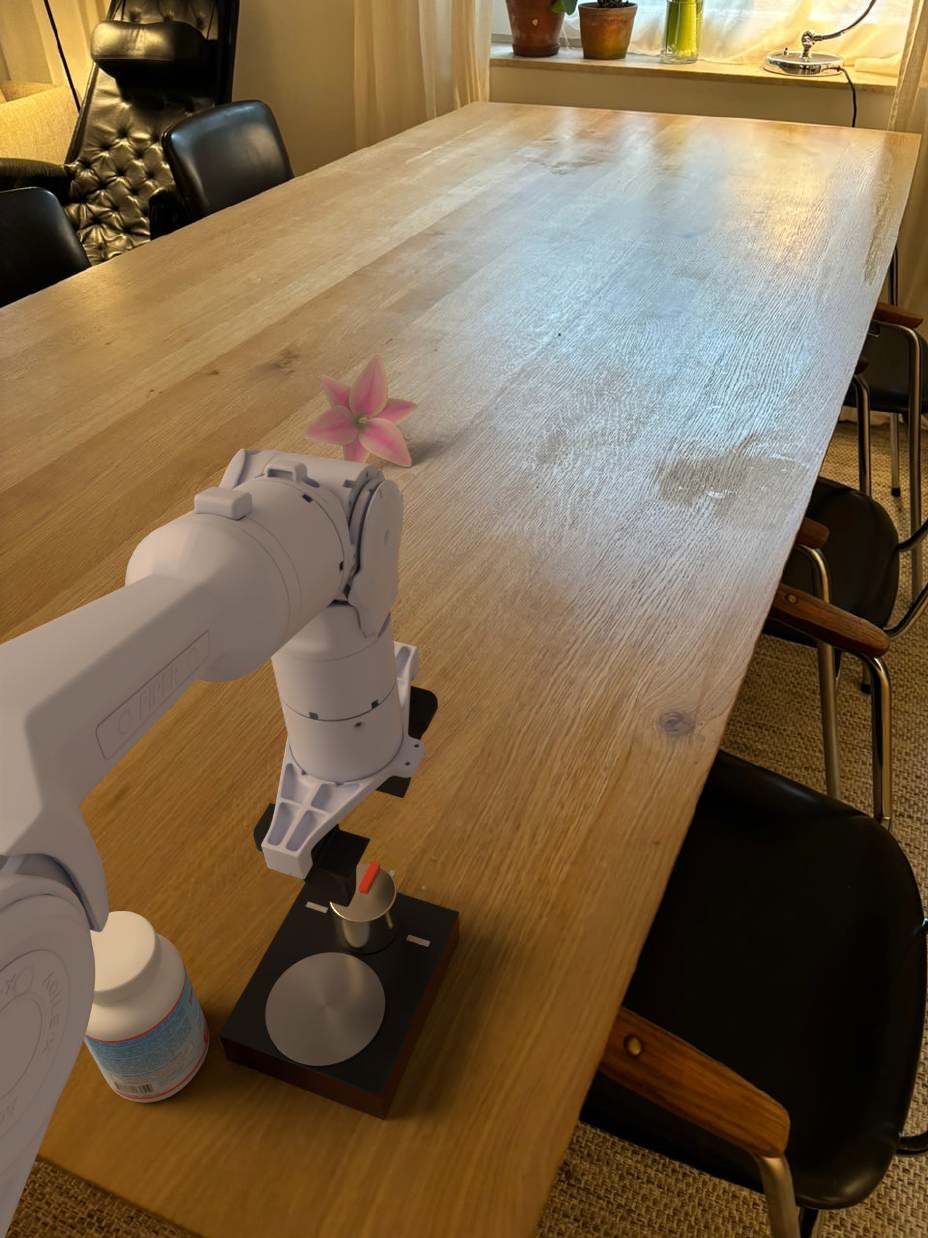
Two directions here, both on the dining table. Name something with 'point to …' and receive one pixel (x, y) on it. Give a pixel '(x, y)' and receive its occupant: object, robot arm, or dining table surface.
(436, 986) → the stove
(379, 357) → the lily
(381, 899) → the stove knob
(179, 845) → the dining table surface
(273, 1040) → the burner
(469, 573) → the dining table surface
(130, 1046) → the pill bottle
